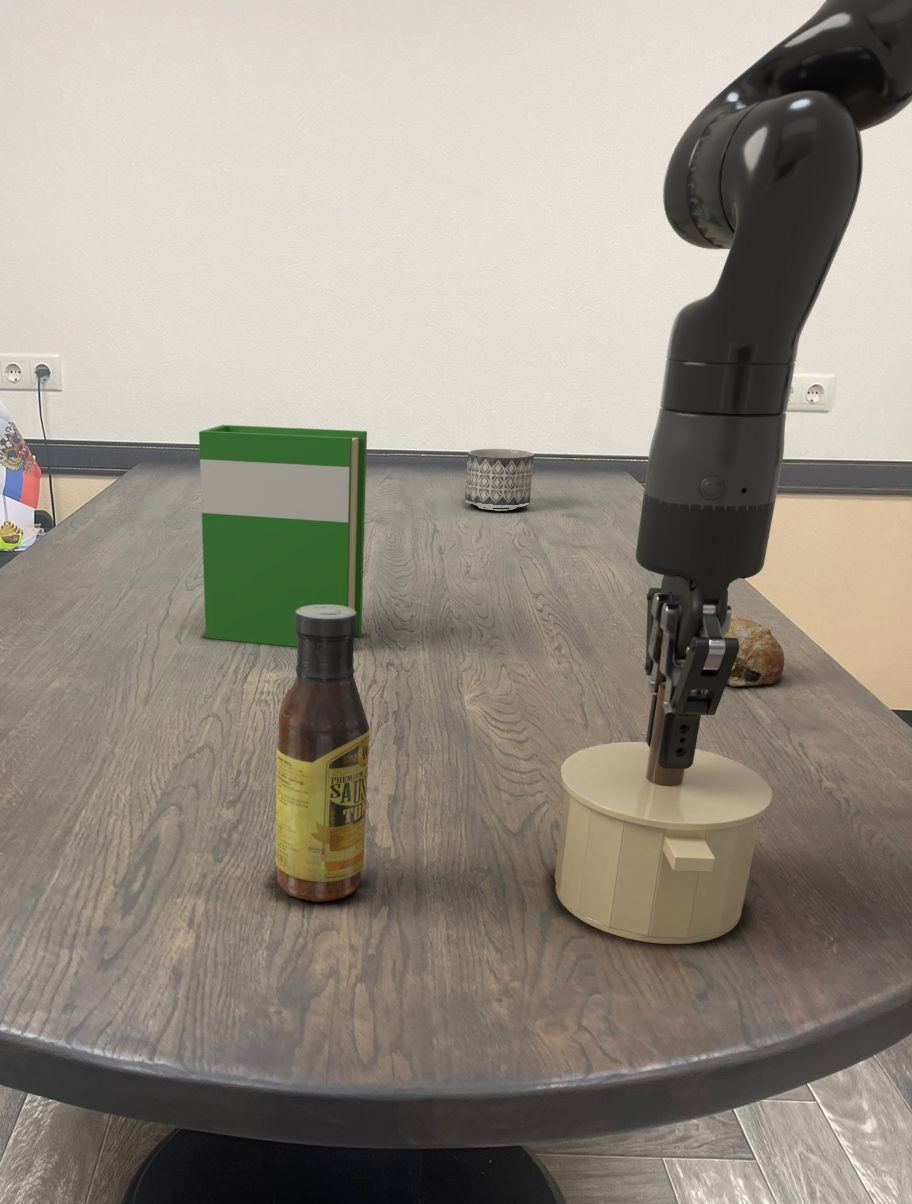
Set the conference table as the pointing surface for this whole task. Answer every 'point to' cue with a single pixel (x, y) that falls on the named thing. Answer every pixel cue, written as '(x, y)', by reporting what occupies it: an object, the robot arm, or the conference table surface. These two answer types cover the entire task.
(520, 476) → the planter
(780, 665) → the bread roll
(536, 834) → the conference table surface
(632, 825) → the pot
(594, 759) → the lid
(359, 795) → the sauce bottle
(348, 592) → the hardback book
